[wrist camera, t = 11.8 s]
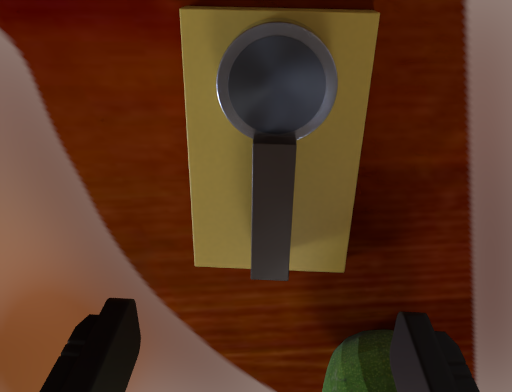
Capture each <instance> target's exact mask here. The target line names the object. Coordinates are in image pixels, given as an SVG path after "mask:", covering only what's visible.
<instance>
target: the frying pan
mask: <svg viewBox="0 0 512 392" xmlns="http://www.w3.org/2000/svg"><path fill="white" fill-rule="evenodd" d="M216 89H217V96H218V100H219V103H220V106H221V108H222V110H223V112H224V114H225V116H226V117H227V119H228V120H229V122H230V123H231V124H232V125H233V126H234V127H235V128H236V129H237V130H239V131H240V132H241V133H243V134H244V135H246V136H247V137H249V138H251V139H253V143H252V222H251V279H258V280H282V281H288V278H289V262H290V246H291V230H292V214H293V198H294V182H295V166H296V150H297V142H296V141H297V140H299V139H301V138H304V137H305V136H307V135H309V134H311V133H312V132H313V131H315V130H316V129H317V128H318V127H319V126H320V125H321V124H322V123H323V122H324V120H325V119H326V118H327V116H328V115H329V113H330V112H331V110H332V107H333V105H334V102H335V99H336V96H337V90H338V75H337V69H336V65H335V62H334V59H333V57H332V55H331V53H330V51H329V49H328V48H327V46H326V44H325V43H324V42H323V40H322V39H321V37H320V36H319V35H318V34H317V33H316V32H315V31H313V30H312V29H311V28H309V27H308V26H306V25H304V24H303V23H301V22H298V21H295V20H292V19H288V18H269V19H263V20H260V21H258V22H255V23H253V24H251V25H249V26H248V27H246V28H245V29H243V30H242V31H241V32H240V33H239V34H238V35H237V36H236V37H235V38H234V39H233V40H232V42H231V43H230V45H229V46H228V48H227V49H226V51H225V53H224V54H223V56H222V59H221V61H220V64H219V67H218V71H217V77H216Z"/></svg>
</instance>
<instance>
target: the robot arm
mask: <svg viewBox="0 0 512 392" xmlns="http://www.w3.org/2000/svg"><path fill="white" fill-rule="evenodd" d="M140 340H141V335H140V328H139V322H138V316H137V309H136V303H135V300H134V299H123V298H109V299H107V301H106V302H105V305H104V307H103V308H102V310H101V312H100V314H99V315H91V314H89V315H88V316H87V317H86V318H85V319H84V320H83V321H82V322H80V323H79V324H78V325H77V326H76V327H75V329H74V331H73V333H72V334H71V336H70V338H69V340H68V343H67V344H66V345H65V347H64V349H63V350H62V352H61V356H59V358H58V359H57V362H56V363H55V365H54V367H53V368H52V370H51V372H50V374H49V376H48V377H47V379H46V381H45V383H44V385H43V387H42V388H41V390H40V392H125V390H126V388H127V385H128V382H129V379H130V377H131V374H132V371H133V368H134V366H135V363H136V360H137V357H138V354H139V349H140V342H141V341H140ZM465 362H466V361H465V359H464V357H463V355H462V353H461V351H460V348H459V346H458V345H457V344H456V343H455V342H454V341H453V340H452V339H451V338H450V337H449V336H448V335H447V334H446V332H441V331H434V329H433V327H432V325H431V322H430V320H429V318H428V316H427V314H426V313H419V312H399V313H398V315H397V319H396V323H395V328H394V332H393V337H392V341H391V345H390V366H391V371H392V375H393V378H394V382H395V386H396V389H397V392H479V389H478V387H477V385H476V383H475V381H474V379H473V378H472V376H471V375H472V374H471V372H470V370H469V368H468V366H467V365H466V363H465Z"/></svg>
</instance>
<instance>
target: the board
mask: <svg viewBox="0 0 512 392" xmlns="http://www.w3.org/2000/svg"><path fill="white" fill-rule="evenodd" d="M379 17H380V13H379V12H377V11H374V10H345V9H300V8H254V7H209V6H185V7H182V8H180V26H181V43H182V59H183V76H184V93H185V109H186V126H187V143H188V159H189V176H190V192H191V209H192V226H193V242H194V259H195V266H201V267H225V268H249V269H251V222H252V143H253V139H251V138H249V137H247V136H246V135H244V134H243V133H241V132H240V131H239V130H237V129H236V128H235V127H234V126H233V125H232V124H231V123H230V122H229V120H228V119H227V117H226V116H225V114H224V112H223V110H222V108H221V106H220V103H219V100H218V96H217V89H216V77H217V71H218V67H219V64H220V61H221V59H222V56H223V54H224V53H225V51H226V49H227V48H228V46H229V45H230V43H231V42H232V40H233V39H234V38H235V37H236V36H237V35H238V34H239V33H240V32H241V31H242V30H243V29H245V28H246V27H248V26H249V25H251V24H253V23H255V22H258V21H260V20H263V19H269V18H288V19H292V20H295V21H298V22H301V23H303V24H304V25H306V26H308V27H309V28H311V29H312V30H313V31H315V32H316V33H317V34H318V35H319V36H320V37H321V39H322V40H323V42H324V43H325V44H326V46H327V48H328V49H329V51H330V53H331V55H332V57H333V59H334V62H335V65H336V69H337V75H338V90H337V96H336V99H335V102H334V105H333V107H332V110H331V112H330V113H329V115H328V116H327V118H326V119H325V120H324V122H323V123H322V124H321V125H320V126H319V127H318V128H317V129H316V130H315V131H313V132H312V133H311V134H309V135H307V136H305V137H304V138H301V139H299V140H297V141H296V142H297V150H296V166H295V182H294V198H293V214H292V230H291V246H290V262H289V270H296V271H319V272H344V270H345V263H346V256H347V248H348V241H349V234H350V227H351V219H352V212H353V205H354V198H355V191H356V183H357V176H358V169H359V162H360V155H361V147H362V140H363V133H364V126H365V118H366V111H367V104H368V97H369V90H370V82H371V75H372V68H373V61H374V53H375V46H376V39H377V32H378V25H379Z"/></svg>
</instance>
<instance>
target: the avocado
mask: <svg viewBox="0 0 512 392" xmlns="http://www.w3.org/2000/svg"><path fill="white" fill-rule="evenodd" d="M393 332H394V331H392V330H386V329H385V330H370V331H362V332H360V333H357V334H355V335H352V336H350V337H348V338H346V339H345V340H344V341H343V342H342V343H341V344H340V345H339V346H338V347H337V348H336V349H335V350H334V352H333V354H332V357H331V359H330V362H329V365H328V368H327V372H326V376H325V380H324V385H323V390H322V392H397V389H396V386H395V382H394V378H393V375H392V371H391V366H390V345H391V341H392V337H393Z"/></svg>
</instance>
